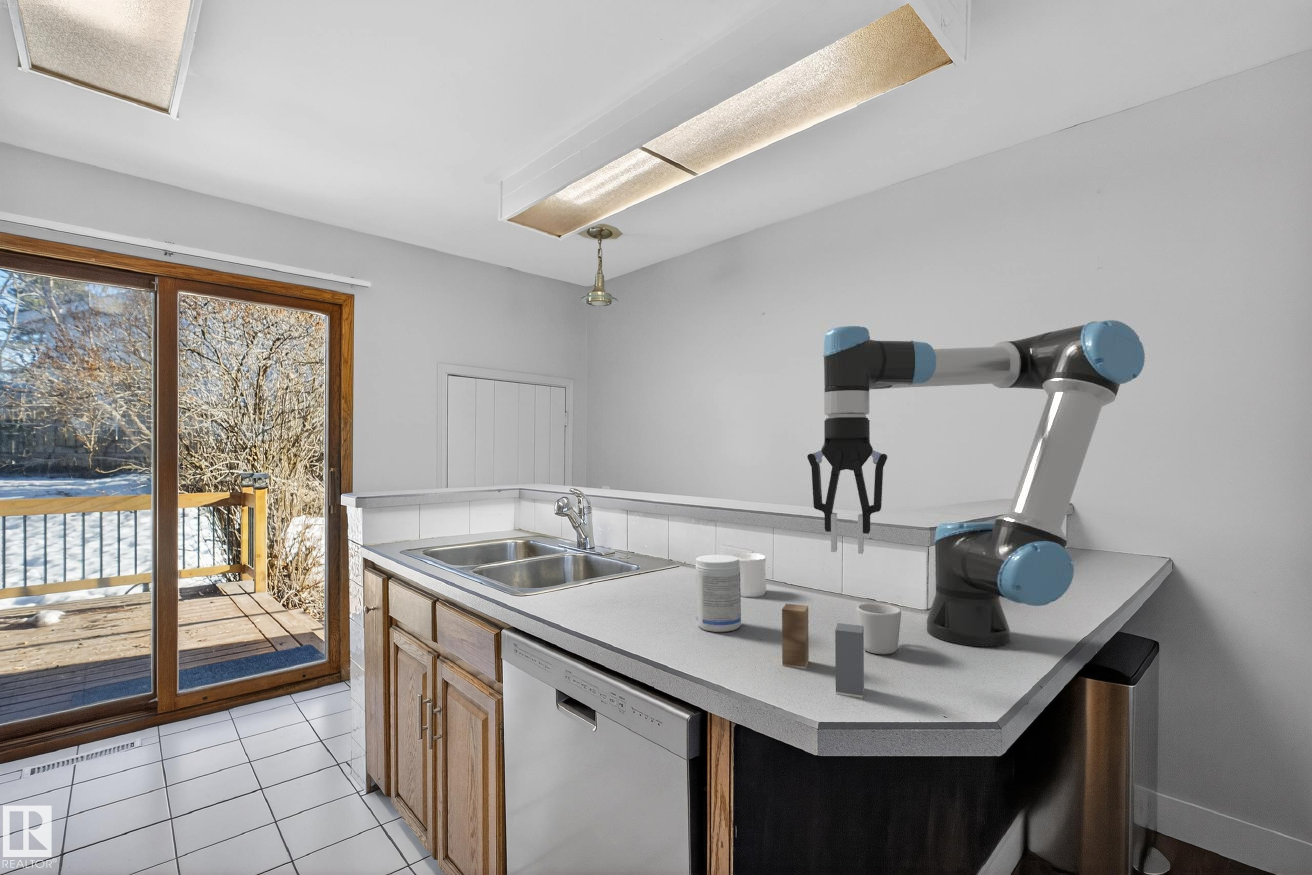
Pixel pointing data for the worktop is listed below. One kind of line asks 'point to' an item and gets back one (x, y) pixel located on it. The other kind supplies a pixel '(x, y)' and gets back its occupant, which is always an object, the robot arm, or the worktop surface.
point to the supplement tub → (718, 593)
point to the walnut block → (795, 636)
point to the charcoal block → (849, 659)
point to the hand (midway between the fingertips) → (847, 551)
